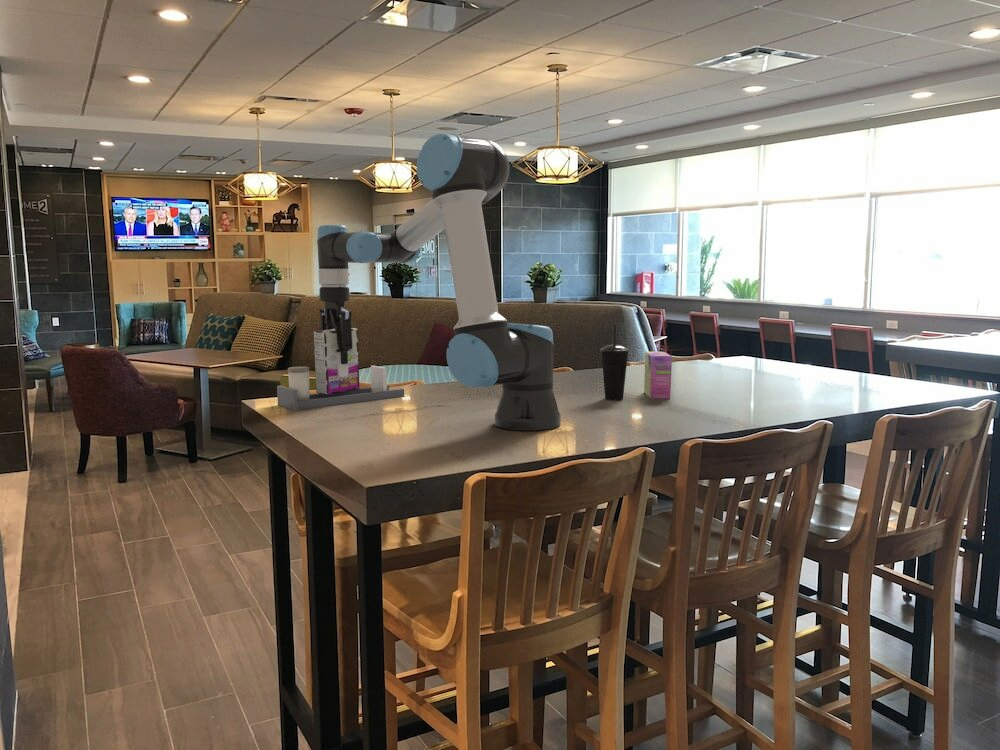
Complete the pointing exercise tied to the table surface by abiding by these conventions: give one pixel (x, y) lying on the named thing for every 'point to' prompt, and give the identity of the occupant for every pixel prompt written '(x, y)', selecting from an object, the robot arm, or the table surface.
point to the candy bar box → (334, 363)
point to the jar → (299, 382)
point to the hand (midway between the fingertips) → (337, 374)
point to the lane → (332, 398)
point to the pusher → (378, 379)
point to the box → (658, 375)
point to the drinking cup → (614, 369)
